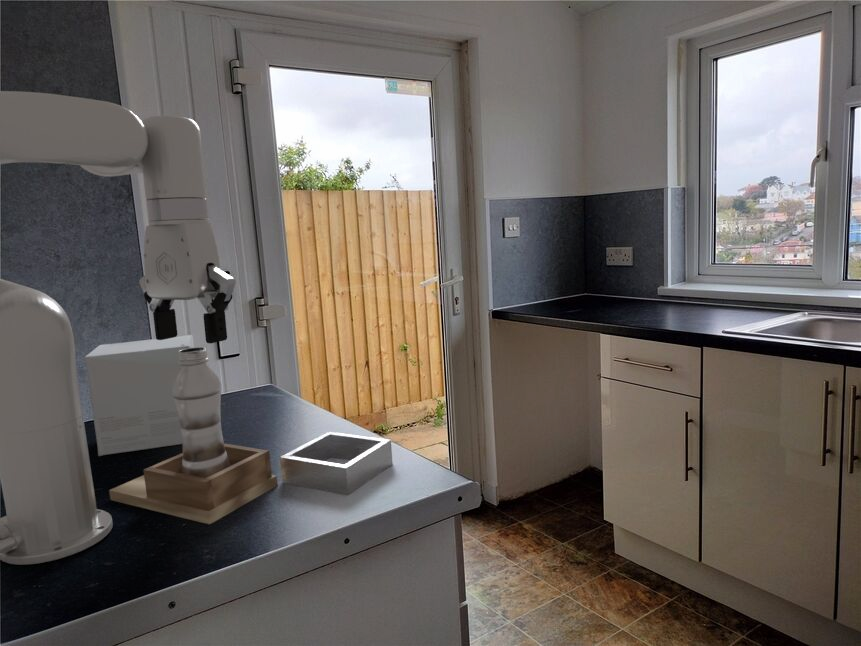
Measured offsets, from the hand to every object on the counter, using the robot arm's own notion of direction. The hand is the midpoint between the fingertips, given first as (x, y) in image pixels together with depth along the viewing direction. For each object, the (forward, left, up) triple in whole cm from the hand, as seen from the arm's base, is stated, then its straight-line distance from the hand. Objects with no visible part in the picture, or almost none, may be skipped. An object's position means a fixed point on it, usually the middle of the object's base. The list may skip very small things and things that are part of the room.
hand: (191, 339), depth 86 cm
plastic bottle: (0, 0, -22) cm, 22 cm away
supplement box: (+15, +31, -23) cm, 42 cm away
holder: (+14, -13, -23) cm, 30 cm away
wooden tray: (0, +3, -23) cm, 23 cm away
